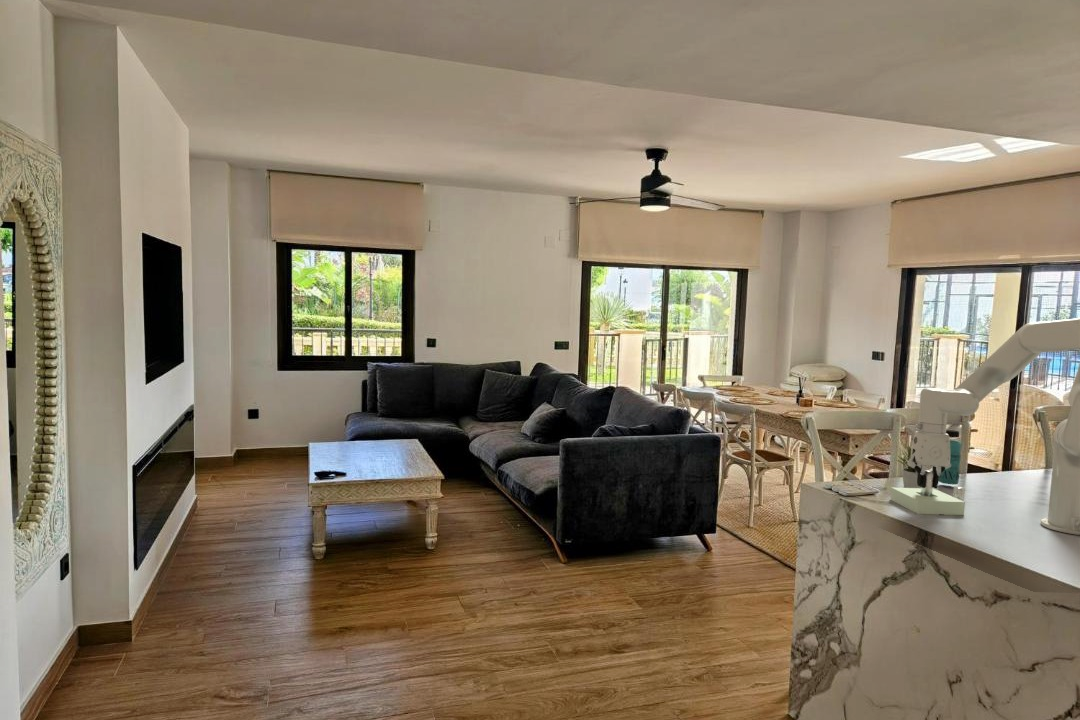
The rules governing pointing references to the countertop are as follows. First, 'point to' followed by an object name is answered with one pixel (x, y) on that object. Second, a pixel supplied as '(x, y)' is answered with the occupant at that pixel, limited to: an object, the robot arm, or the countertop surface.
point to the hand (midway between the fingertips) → (927, 486)
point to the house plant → (908, 472)
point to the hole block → (927, 501)
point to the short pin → (959, 493)
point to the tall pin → (928, 484)
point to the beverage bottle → (952, 461)
